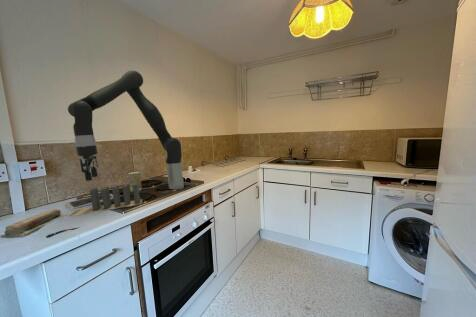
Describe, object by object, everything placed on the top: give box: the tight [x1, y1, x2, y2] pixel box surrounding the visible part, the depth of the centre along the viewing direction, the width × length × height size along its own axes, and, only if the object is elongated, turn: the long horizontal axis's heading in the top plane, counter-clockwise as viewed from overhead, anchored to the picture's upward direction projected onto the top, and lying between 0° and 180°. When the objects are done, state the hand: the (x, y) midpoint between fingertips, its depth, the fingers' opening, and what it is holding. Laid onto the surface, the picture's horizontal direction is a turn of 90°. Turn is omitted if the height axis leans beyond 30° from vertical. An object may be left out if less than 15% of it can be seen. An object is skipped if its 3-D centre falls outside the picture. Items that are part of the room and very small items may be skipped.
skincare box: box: [127, 171, 143, 193], centre depth 126 cm, size 6×4×12 cm
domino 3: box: [111, 184, 122, 207], centre depth 97 cm, size 2×5×10 cm, turn 22°
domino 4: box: [122, 183, 132, 207], centre depth 99 cm, size 2×5×10 cm, turn 22°
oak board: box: [68, 198, 143, 217], centre depth 96 cm, size 30×8×1 cm, turn 112°
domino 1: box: [89, 187, 102, 211], centre depth 94 cm, size 2×5×10 cm, turn 22°
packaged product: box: [0, 208, 69, 238], centre depth 81 cm, size 18×5×10 cm
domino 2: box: [100, 186, 112, 209], centre depth 95 cm, size 2×5×10 cm, turn 21°
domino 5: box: [133, 183, 141, 205], centre depth 100 cm, size 2×5×10 cm, turn 22°
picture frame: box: [64, 191, 114, 211], centre depth 108 cm, size 16×3×21 cm
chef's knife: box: [45, 226, 80, 239], centre depth 78 cm, size 19×1×3 cm
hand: (92, 178), depth 92 cm, fingers open, 8 cm apart
